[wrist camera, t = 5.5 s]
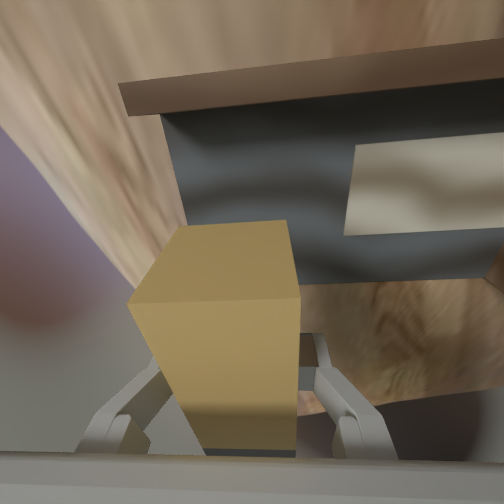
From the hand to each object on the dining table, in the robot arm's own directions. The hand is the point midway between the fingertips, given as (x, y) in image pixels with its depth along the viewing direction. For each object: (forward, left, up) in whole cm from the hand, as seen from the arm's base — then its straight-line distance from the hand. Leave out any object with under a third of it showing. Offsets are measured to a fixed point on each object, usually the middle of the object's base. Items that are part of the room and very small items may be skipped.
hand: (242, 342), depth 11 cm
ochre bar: (0, 0, -2) cm, 2 cm away
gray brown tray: (-2, +9, -13) cm, 16 cm away
